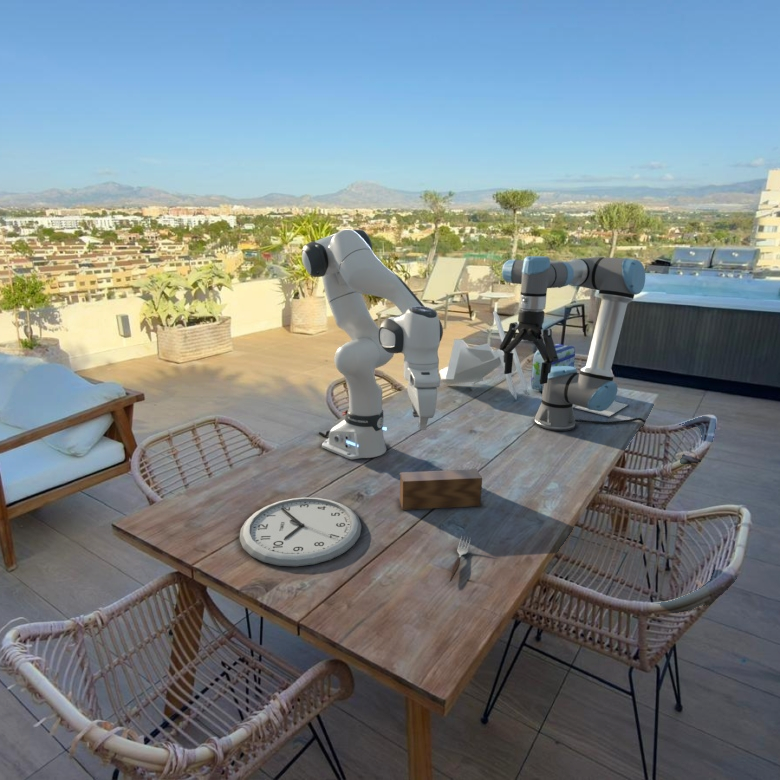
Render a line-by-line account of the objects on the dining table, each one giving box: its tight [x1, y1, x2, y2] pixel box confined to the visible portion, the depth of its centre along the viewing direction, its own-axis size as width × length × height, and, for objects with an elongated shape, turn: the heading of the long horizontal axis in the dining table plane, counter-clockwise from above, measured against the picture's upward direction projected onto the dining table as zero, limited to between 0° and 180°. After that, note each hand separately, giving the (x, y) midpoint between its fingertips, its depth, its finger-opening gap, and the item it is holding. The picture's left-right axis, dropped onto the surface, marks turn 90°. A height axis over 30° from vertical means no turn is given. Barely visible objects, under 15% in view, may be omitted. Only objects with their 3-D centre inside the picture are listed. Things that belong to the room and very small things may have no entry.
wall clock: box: [239, 497, 362, 567], centre depth 131 cm, size 30×2×30 cm
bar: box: [399, 468, 483, 511], centre depth 144 cm, size 22×6×8 cm, turn 97°
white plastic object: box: [439, 310, 531, 400], centre depth 245 cm, size 37×45×31 cm
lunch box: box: [530, 343, 576, 392], centre depth 248 cm, size 26×11×21 cm, turn 134°
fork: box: [449, 535, 471, 582], centre depth 119 cm, size 3×16×2 cm, turn 160°
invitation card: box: [573, 400, 629, 418], centre depth 226 cm, size 21×1×15 cm
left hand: (419, 422), depth 137 cm, fingers open, 8 cm apart
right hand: (525, 378), depth 162 cm, fingers open, 13 cm apart
